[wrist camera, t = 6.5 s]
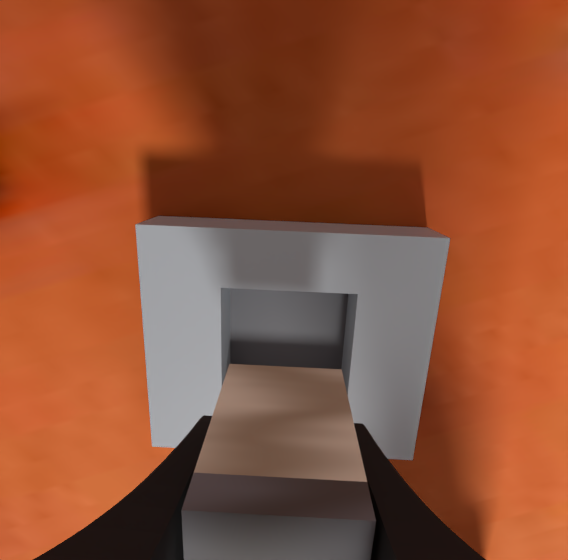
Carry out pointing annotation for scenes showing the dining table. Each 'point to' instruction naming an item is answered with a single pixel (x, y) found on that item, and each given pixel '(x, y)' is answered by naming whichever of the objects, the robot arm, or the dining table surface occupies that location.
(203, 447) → the peg
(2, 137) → the dining table surface
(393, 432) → the socket board
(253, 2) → the dining table surface
